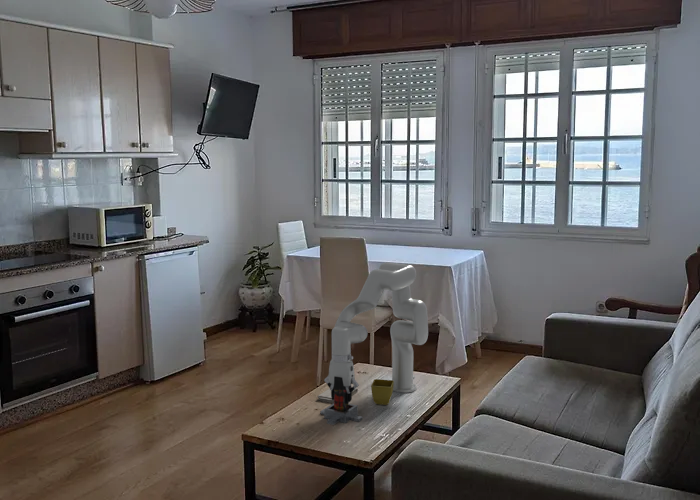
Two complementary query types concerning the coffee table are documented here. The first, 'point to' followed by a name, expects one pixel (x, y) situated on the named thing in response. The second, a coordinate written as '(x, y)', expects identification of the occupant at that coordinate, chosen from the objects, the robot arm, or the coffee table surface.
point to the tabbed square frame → (341, 414)
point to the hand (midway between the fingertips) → (341, 400)
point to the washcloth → (327, 396)
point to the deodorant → (340, 395)
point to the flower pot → (382, 391)
